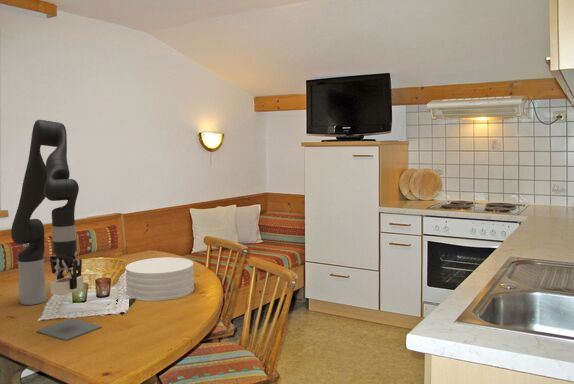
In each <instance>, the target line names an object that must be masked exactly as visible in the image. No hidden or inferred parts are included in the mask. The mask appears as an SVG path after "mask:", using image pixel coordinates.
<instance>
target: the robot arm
mask: <svg viewBox="0 0 574 384" xmlns="http://www.w3.org/2000/svg"><path fill="white" fill-rule="evenodd" d="M67 137H68V135H67V129H66V126H65V124H63V123H62V122H57V121H52V120H51V121H50V120H45V119H37V120H35V122H34V124H33V127H32V133H31V137H30V138H31V139H30V148H29V154H28V160H27V164H26V169H25V173H24V175H23V180H22V181H23V182H22V187H21V192H20V198H19V202H18V206H17V209H16V212H15V216H14V218H13V220H12V221H13V222H12V225H11V230H10V235H11V240H12V242H13V243H14V244H16V245H26V244H28V245H27V246H26V248H25V249H23V250H22V251H20V252H19V253H18V254H17V265H18V266H17V267H18V280H17V281H18V283H17V284H18V298H19V302H20V304H21V305H24V306H33V305H38V304H42V303H44V302H46V301H47V296H46V295H47V294H46V277H45V261H44V259H45V257H44V255H45V248H46V247H45V226H44V224H43V221H41V220H40V219H38V218H31V217H32V215H33V213H34V212H35V211H36V210H37V208H38V207H39V206H40V205H41V204H42V203H43V201H44V200H45V199H47V200H48V201H50V202H51V201H52V202H58V201H59V202H60V201H67V202H66V203H65V205H63V206H59V207H56V208H53V209H52V211H51V226H52V227H51V228H52V229H51V240H52V241H51V242H52V253H53V254H54V255H51V256H49V261H50V267H51V274H54V275H55V276H56V280H59V279H62V278H65V275H64V273H65V272H66V273H67V275H68V276H69V278H70V279H69V281H70V289H72V290H73V289H76V288H77V277H82V269H83V268H82V266H83V265H82V263H83V261H82V258H79V259H77V258H76V255H75V254H76V252H77V251H78V242H77V229H76V222H75V221H76V219H75V209H76V203H77V198H78V194H79V191H80V187H79V183H78V181H76V180H75V179H73V178H70V174H71V173H70V168H69V163H68V158H67V156H68V155H67V154H68V141H67V139H68V138H67ZM42 146H45V147H46V146H47V147H54V148H55V147H56V148H55V149H54V150H53V151H52V152H51V153H50V154H49V155H47V158H46V162H44V161H45V160H44V158H43V156H42V153H41V147H42Z"/></svg>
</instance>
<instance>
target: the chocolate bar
mask: <svg viewBox="0 0 574 384" xmlns="http://www.w3.org/2000/svg"><path fill="white" fill-rule="evenodd" d="M116 299H117V300H116V301H117V302H118V299H119V298H116ZM128 299H129V308H131V307H132V305H133V304H134V303H135V301H136V299H132V298H128ZM116 304H117V303H116ZM108 314H109V313H108ZM110 314H111V315H110V316H117V315H118V316H123V315H124V314H125V313H124V312H117V313H110ZM114 314H115V315H114ZM119 314H121V315H119Z"/></svg>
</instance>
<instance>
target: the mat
mask: <svg viewBox="0 0 574 384" xmlns="http://www.w3.org/2000/svg"><path fill="white" fill-rule="evenodd" d="M102 328H103V327H102V325H99V324H95V323H91V322H88V321H83V320H79V319H76V318H70V319H66V320H63V321H60V322H57V323H55V324H52V325H48V326H45V327H43V328H40V329H37V330H35V333H38V334H41V335H45V336H49V337H51V338H56V339H59V340H62V341H65V342H68V341H70V340H73V339H75V338H78V337H81V336H83V335H86V334H89V333H91V332H94V331H96V330H100V329H102Z"/></svg>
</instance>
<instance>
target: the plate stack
mask: <svg viewBox="0 0 574 384" xmlns="http://www.w3.org/2000/svg"><path fill="white" fill-rule="evenodd" d="M194 273H195V269H194V261H192V260H190V259H188V258H183V257H167V256H166V257H156V258H155V257H153V258H145V259H141V260H140V259H139V260H135V261H133V262H131V263H128V264H127V265H126V266H125V277H126V278H125V279H126V280H125V282H126V285H125V286H126V287H125V289H126V296H127V295H128V296H130V297H131V298H130V297H129V298H130V299H136V300H138V301H144V302H145V301H147V302H154V301H156V302H157V301H168V300H174V299H179V298H183V297H185V296H188V295H190V294H192V293H193V292H194V291H195V279H194V278H195V274H194ZM128 296H127V297H128ZM136 300H135V301H136Z"/></svg>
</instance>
